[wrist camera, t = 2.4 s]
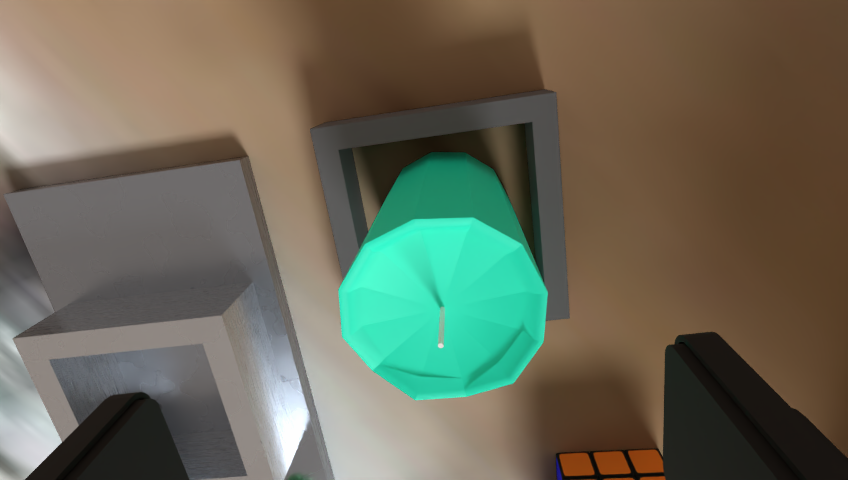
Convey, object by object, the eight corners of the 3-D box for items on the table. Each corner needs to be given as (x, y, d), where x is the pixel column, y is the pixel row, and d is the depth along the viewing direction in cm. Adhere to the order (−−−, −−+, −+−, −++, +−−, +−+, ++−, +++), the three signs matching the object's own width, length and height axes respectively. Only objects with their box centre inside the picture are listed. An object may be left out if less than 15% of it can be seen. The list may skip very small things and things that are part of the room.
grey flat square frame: (545, 89, 21) (556, 92, 19) (558, 294, 25) (569, 318, 22) (324, 122, 22) (309, 129, 20) (365, 315, 26) (356, 340, 23)
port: (248, 156, 23) (202, 176, 19) (341, 507, 30) (323, 578, 26) (20, 189, 25) (-70, 214, 20) (161, 519, 32) (116, 589, 27)
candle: (370, 167, 23) (289, 264, 12) (495, 135, 22) (537, 206, 11) (404, 280, 25) (363, 457, 14) (521, 255, 24) (579, 420, 13)
